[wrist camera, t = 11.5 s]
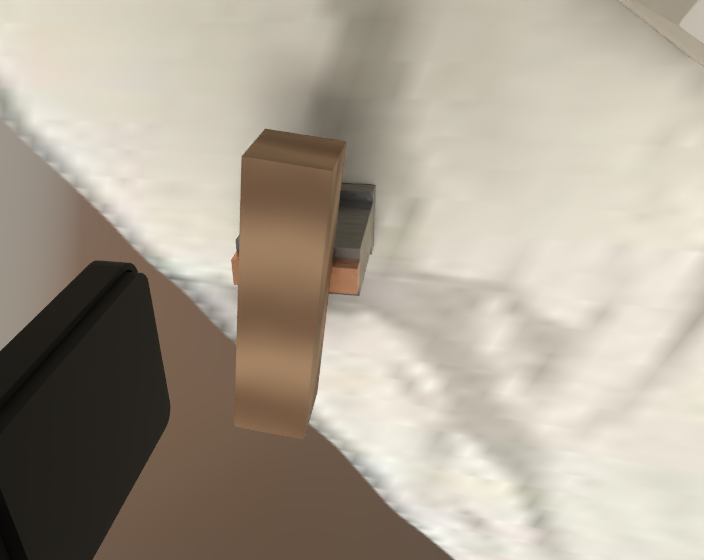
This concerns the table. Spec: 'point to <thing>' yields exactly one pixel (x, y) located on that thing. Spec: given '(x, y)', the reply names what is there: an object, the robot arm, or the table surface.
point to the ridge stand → (346, 239)
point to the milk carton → (675, 22)
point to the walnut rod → (284, 277)
